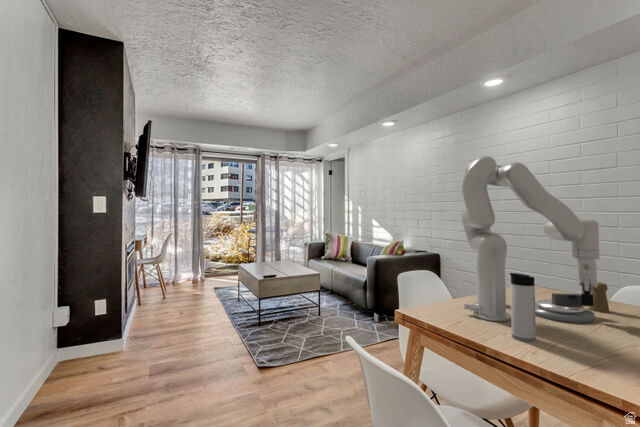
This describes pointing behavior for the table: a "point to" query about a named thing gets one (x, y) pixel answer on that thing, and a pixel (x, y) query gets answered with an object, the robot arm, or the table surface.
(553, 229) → the robot arm
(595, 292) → the cork
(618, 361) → the table surface
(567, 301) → the dial
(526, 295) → the travel mug
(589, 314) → the dial base
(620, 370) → the table surface
